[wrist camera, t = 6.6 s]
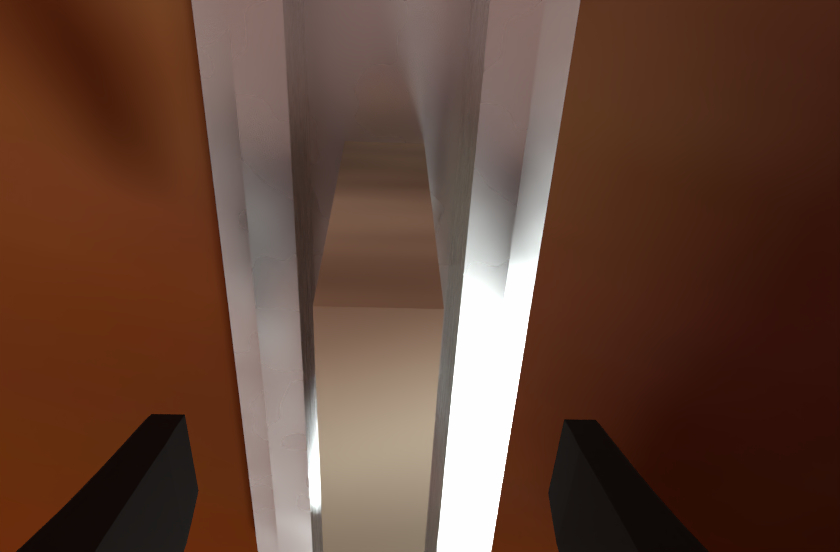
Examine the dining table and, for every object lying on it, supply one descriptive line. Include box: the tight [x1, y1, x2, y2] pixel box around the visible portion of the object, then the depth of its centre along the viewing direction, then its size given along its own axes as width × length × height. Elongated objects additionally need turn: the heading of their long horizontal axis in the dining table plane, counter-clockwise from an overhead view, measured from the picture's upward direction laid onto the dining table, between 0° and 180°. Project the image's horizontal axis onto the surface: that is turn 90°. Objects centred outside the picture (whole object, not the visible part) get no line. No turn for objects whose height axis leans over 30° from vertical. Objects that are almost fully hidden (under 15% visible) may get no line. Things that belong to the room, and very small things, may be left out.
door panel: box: [313, 141, 444, 552], centre depth 13 cm, size 10×2×6 cm, turn 177°
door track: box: [191, 0, 580, 552], centre depth 15 cm, size 18×7×4 cm, turn 177°
